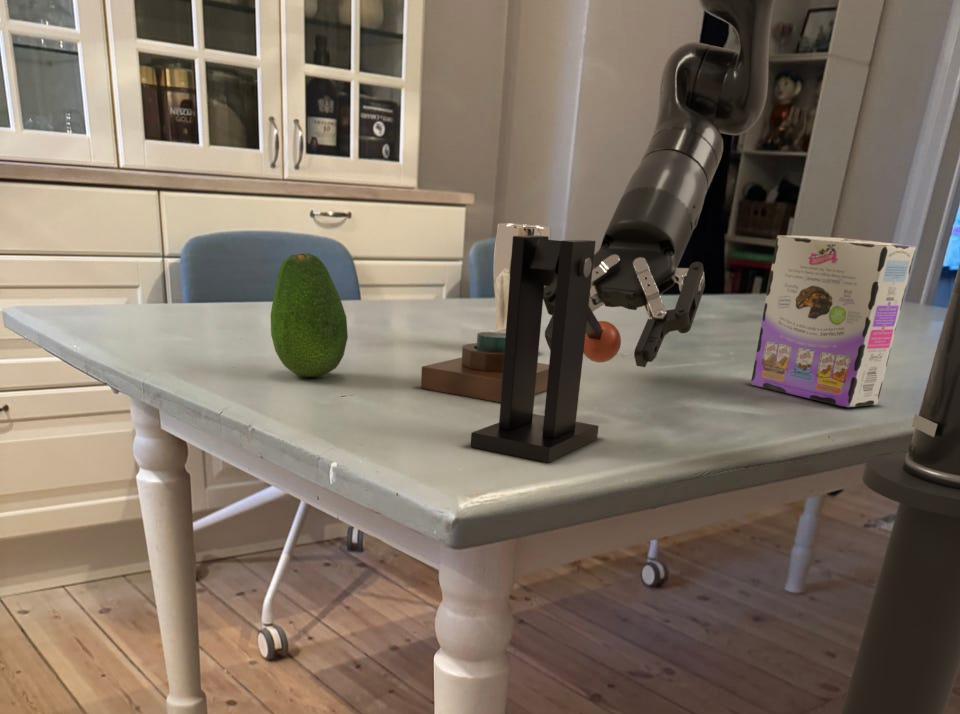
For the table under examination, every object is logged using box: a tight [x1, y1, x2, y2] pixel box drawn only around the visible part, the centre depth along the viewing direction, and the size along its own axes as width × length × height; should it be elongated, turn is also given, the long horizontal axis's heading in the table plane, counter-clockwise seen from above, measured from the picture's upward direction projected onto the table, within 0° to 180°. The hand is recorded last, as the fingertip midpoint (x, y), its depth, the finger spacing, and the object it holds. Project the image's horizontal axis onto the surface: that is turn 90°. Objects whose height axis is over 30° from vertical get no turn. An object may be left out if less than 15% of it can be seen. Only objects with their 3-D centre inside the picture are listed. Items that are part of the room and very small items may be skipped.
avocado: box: [270, 252, 349, 379], centre depth 94 cm, size 8×8×12 cm
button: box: [476, 331, 506, 352], centre depth 96 cm, size 4×4×2 cm
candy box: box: [750, 234, 917, 408], centre depth 102 cm, size 14×6×16 cm, turn 35°
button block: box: [420, 342, 549, 404], centre depth 97 cm, size 10×12×4 cm
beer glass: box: [492, 222, 552, 334], centre depth 117 cm, size 7×7×15 cm
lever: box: [530, 239, 622, 364], centre depth 78 cm, size 17×4×4 cm
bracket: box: [470, 235, 600, 464], centre depth 74 cm, size 10×7×16 cm
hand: (594, 354), depth 84 cm, fingers open, 8 cm apart
